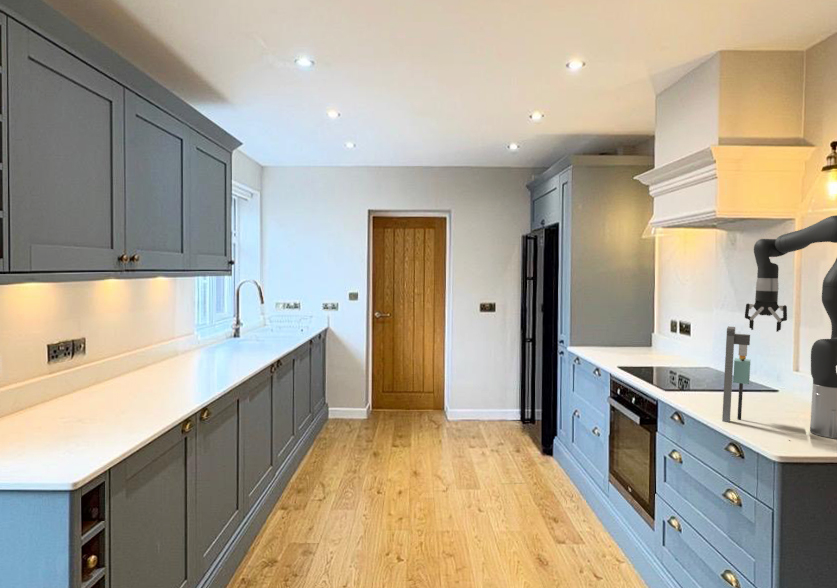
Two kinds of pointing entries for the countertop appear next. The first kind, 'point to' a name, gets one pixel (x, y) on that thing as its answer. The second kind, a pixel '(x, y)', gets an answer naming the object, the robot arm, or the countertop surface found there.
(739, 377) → the sleeve
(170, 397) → the countertop surface
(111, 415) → the countertop surface
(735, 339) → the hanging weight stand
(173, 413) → the countertop surface
